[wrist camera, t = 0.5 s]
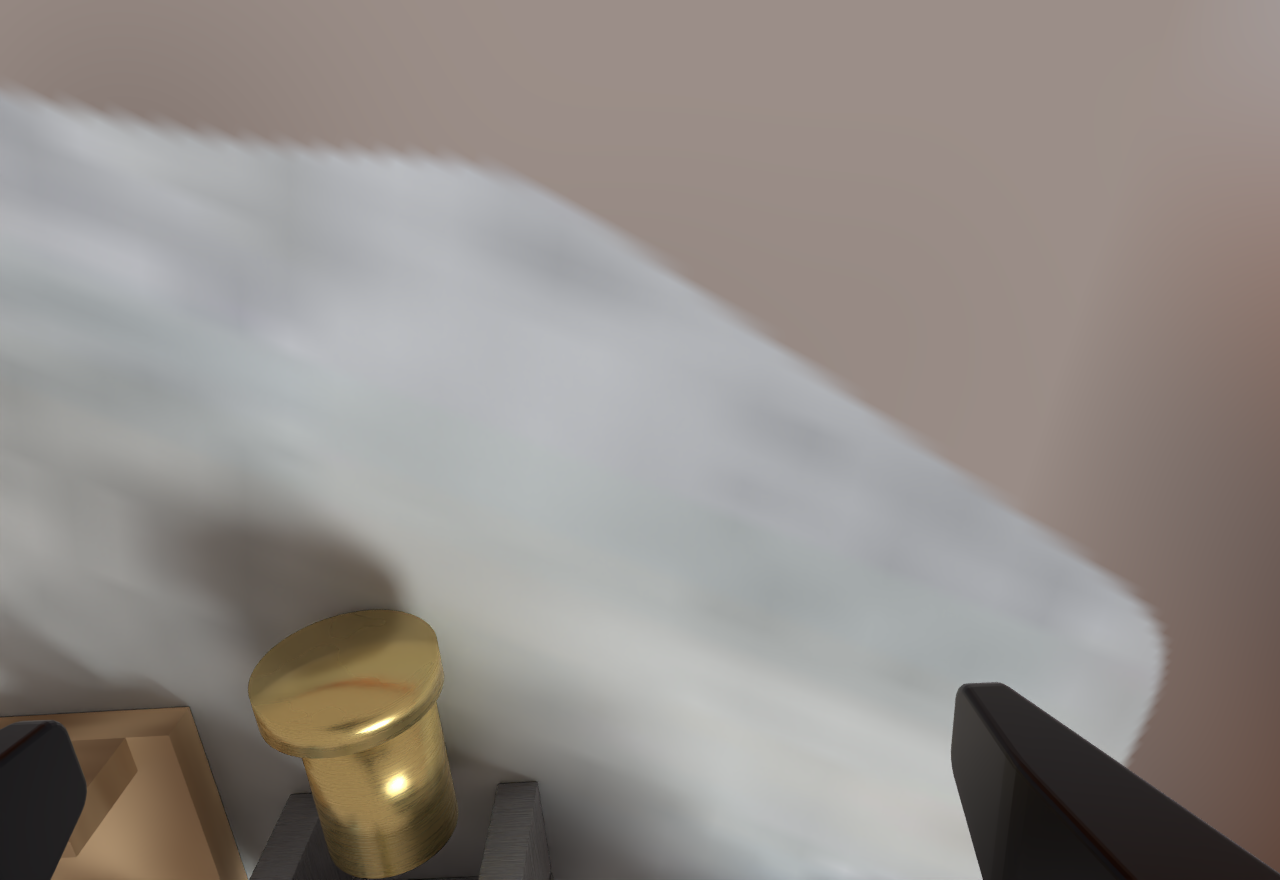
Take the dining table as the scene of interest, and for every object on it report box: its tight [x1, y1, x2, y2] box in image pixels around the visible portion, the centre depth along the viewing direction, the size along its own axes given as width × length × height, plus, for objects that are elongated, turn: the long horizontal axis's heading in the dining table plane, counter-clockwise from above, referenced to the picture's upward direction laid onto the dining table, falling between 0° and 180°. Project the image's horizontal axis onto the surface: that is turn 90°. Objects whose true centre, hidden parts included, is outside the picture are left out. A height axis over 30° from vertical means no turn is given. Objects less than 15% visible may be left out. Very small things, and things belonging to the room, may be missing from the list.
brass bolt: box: [248, 610, 458, 879], centre depth 24 cm, size 6×5×5 cm
